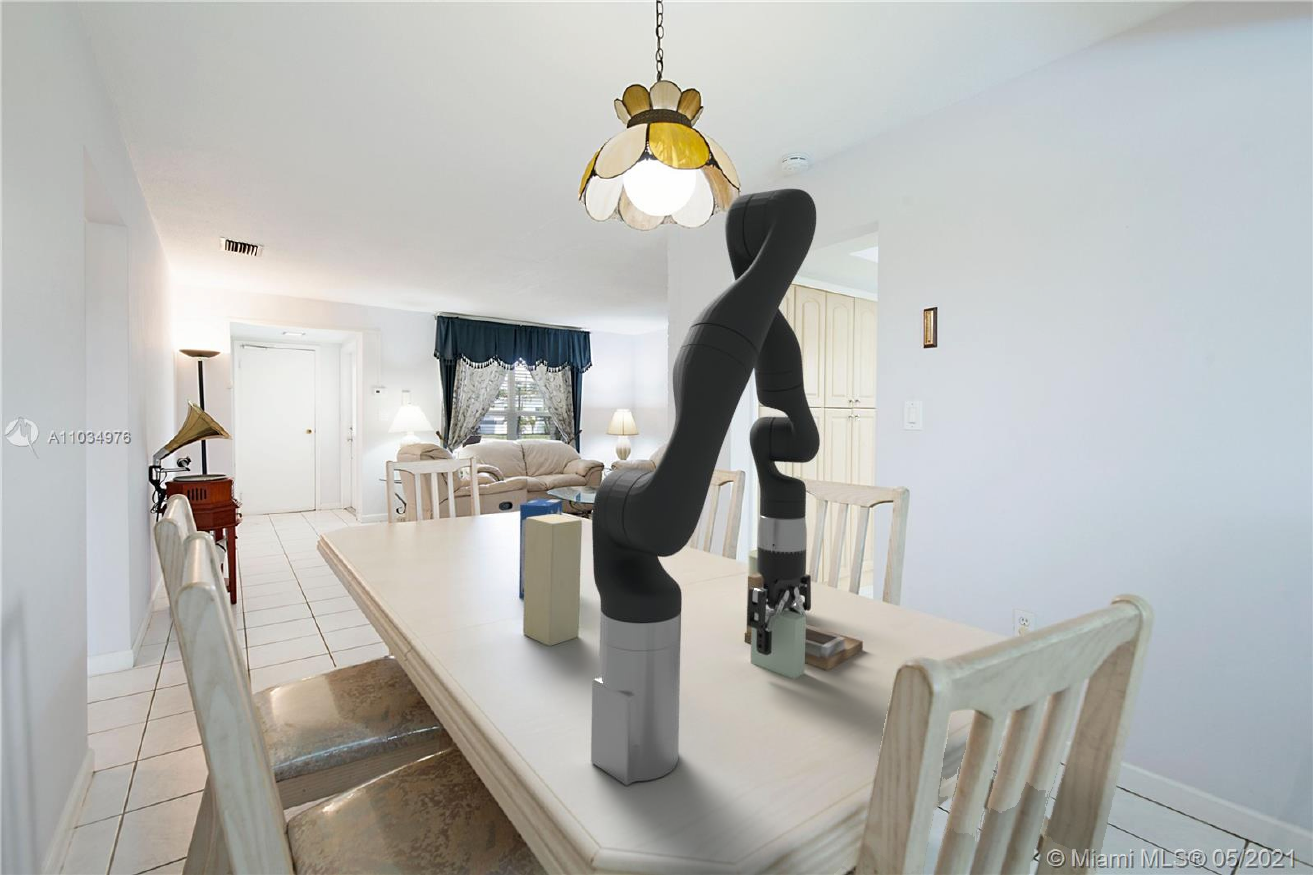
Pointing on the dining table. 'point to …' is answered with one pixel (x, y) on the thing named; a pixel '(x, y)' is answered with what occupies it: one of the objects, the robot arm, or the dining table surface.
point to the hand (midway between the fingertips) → (779, 645)
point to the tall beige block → (552, 578)
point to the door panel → (783, 645)
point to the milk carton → (526, 510)
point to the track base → (816, 640)
